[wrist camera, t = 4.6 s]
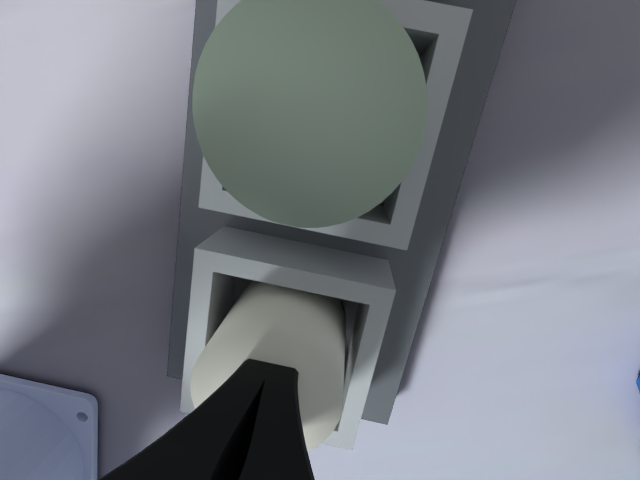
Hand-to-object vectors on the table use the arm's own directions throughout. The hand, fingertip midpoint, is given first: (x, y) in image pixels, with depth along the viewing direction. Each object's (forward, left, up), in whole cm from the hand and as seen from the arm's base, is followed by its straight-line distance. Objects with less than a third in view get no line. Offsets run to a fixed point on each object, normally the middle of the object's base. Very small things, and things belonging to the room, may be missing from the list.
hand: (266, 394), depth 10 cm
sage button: (+7, 0, -3) cm, 7 cm away
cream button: (0, 0, -4) cm, 4 cm away
